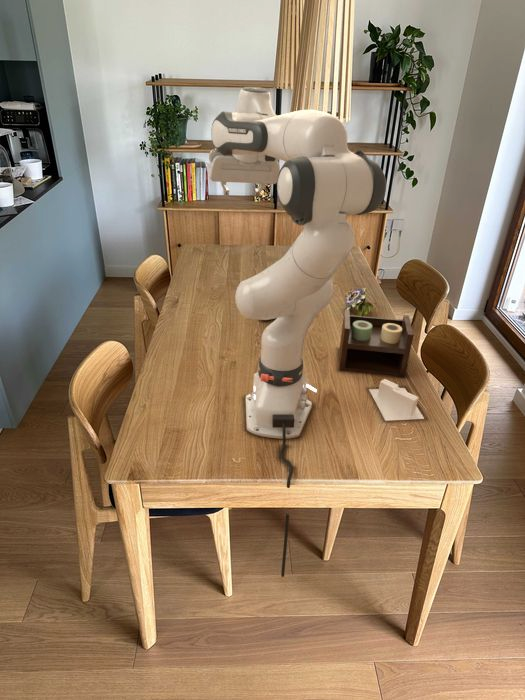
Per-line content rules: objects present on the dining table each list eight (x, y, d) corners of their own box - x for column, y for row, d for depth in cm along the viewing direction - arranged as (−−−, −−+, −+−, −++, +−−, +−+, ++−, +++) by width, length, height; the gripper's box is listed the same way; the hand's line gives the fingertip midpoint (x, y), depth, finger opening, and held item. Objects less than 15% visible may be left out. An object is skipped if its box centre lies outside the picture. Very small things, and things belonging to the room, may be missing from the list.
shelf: (404, 377, 155) (413, 334, 147) (339, 370, 157) (344, 328, 149) (400, 355, 166) (408, 314, 159) (339, 349, 168) (344, 309, 161)
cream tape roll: (400, 344, 152) (403, 332, 150) (381, 342, 152) (383, 330, 150) (399, 335, 157) (401, 323, 155) (379, 333, 158) (381, 322, 156)
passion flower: (346, 322, 197) (340, 293, 198) (373, 317, 197) (367, 288, 198) (351, 319, 186) (345, 288, 187) (380, 313, 186) (373, 282, 187)
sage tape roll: (371, 341, 153) (373, 330, 151) (351, 339, 153) (353, 328, 151) (370, 332, 158) (372, 321, 156) (351, 330, 159) (352, 319, 156)
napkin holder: (425, 418, 137) (429, 401, 134) (385, 421, 135) (389, 404, 132) (404, 387, 150) (408, 371, 147) (368, 389, 148) (370, 373, 145)
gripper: (211, 152, 133) (207, 199, 143) (285, 156, 138) (276, 201, 148) (208, 141, 137) (205, 188, 147) (279, 146, 142) (271, 190, 152)
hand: (241, 194), depth 148 cm, fingers open, 8 cm apart
